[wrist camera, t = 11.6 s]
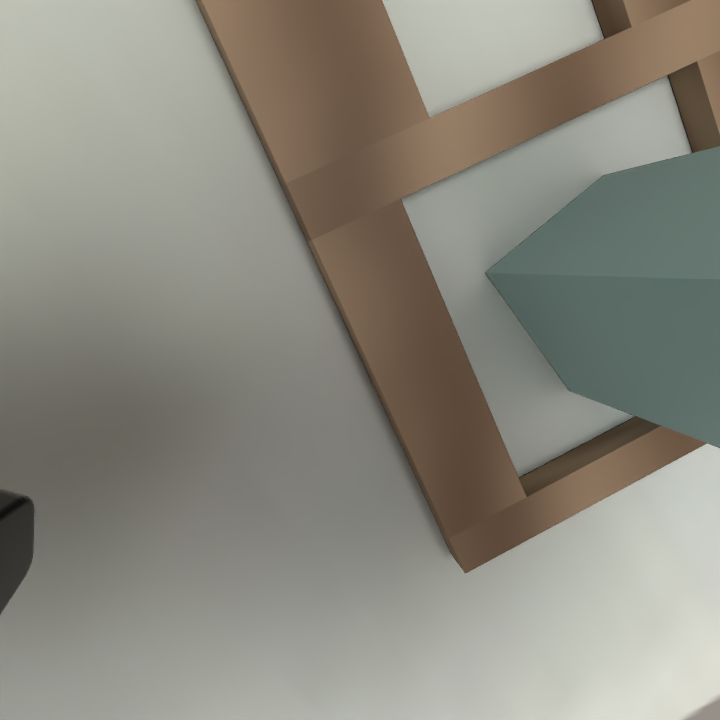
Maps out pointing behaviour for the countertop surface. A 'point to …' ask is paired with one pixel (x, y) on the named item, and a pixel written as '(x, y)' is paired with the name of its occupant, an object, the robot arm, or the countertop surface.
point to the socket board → (399, 242)
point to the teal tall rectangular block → (631, 292)
